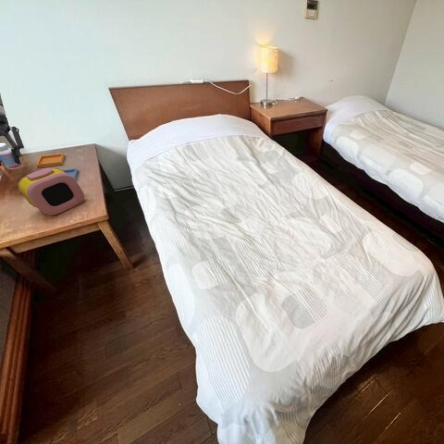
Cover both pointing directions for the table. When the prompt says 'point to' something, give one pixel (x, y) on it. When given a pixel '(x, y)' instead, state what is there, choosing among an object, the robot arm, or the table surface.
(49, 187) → the alarm clock
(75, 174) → the blue tray
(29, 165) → the table surface
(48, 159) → the amber tray
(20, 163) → the robot arm
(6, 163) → the pill bottle
